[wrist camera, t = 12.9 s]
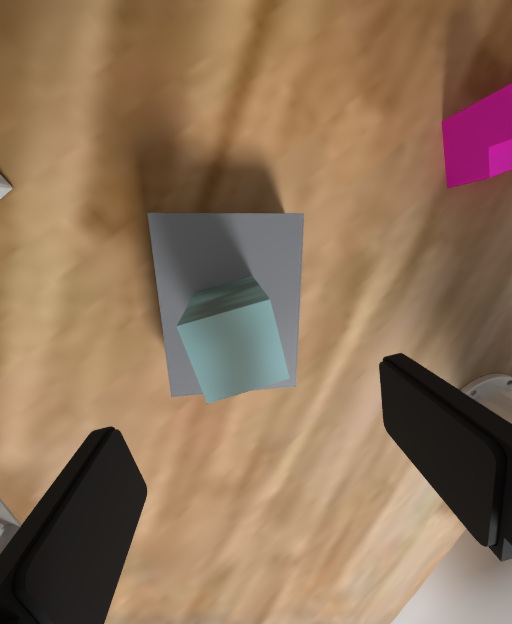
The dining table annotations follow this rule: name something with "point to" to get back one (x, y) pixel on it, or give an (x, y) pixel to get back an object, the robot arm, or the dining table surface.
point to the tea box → (4, 187)
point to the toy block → (479, 139)
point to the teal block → (232, 339)
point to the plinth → (226, 275)
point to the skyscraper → (7, 526)
